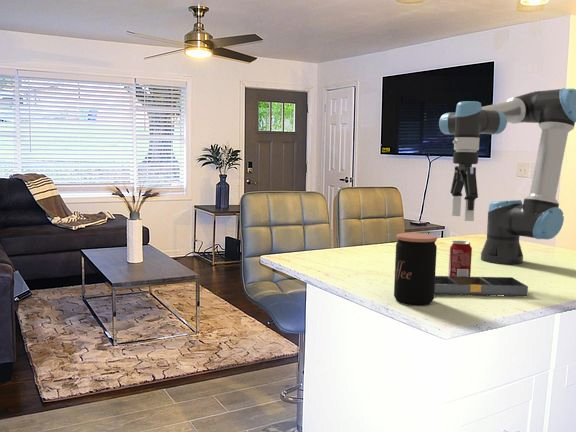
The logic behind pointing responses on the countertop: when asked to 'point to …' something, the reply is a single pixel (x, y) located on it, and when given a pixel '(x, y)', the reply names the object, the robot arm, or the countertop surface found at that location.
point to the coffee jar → (415, 269)
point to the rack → (479, 286)
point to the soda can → (460, 259)
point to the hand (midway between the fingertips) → (462, 218)
